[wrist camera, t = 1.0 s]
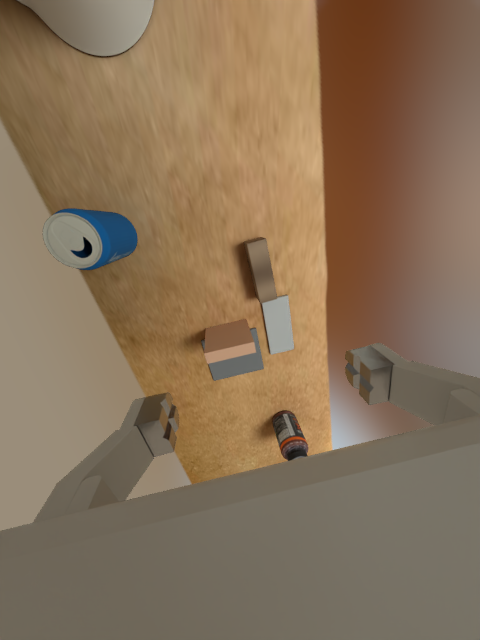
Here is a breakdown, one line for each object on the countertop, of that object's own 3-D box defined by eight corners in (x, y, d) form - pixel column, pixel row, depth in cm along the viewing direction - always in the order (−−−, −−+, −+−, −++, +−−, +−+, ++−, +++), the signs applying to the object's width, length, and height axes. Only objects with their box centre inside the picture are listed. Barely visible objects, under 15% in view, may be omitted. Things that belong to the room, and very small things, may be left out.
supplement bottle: (299, 419, 56) (318, 464, 45) (278, 430, 56) (293, 477, 46) (288, 405, 53) (306, 449, 43) (267, 417, 54) (280, 463, 44)
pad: (261, 300, 41) (261, 301, 41) (287, 294, 42) (288, 295, 41) (270, 353, 46) (270, 354, 46) (293, 347, 47) (294, 349, 46)
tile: (205, 328, 42) (204, 353, 34) (246, 318, 43) (254, 341, 34) (208, 337, 43) (207, 364, 35) (248, 328, 44) (256, 353, 35)
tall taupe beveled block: (243, 241, 37) (246, 244, 33) (260, 237, 37) (265, 238, 33) (256, 296, 41) (260, 303, 38) (271, 292, 41) (277, 298, 38)
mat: (201, 340, 43) (201, 341, 43) (255, 327, 44) (256, 328, 43) (213, 379, 48) (214, 380, 47) (263, 367, 48) (263, 368, 47)
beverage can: (120, 265, 36) (81, 283, 25) (85, 232, 34) (24, 238, 23) (147, 238, 35) (118, 245, 24) (112, 202, 32) (62, 192, 22)
